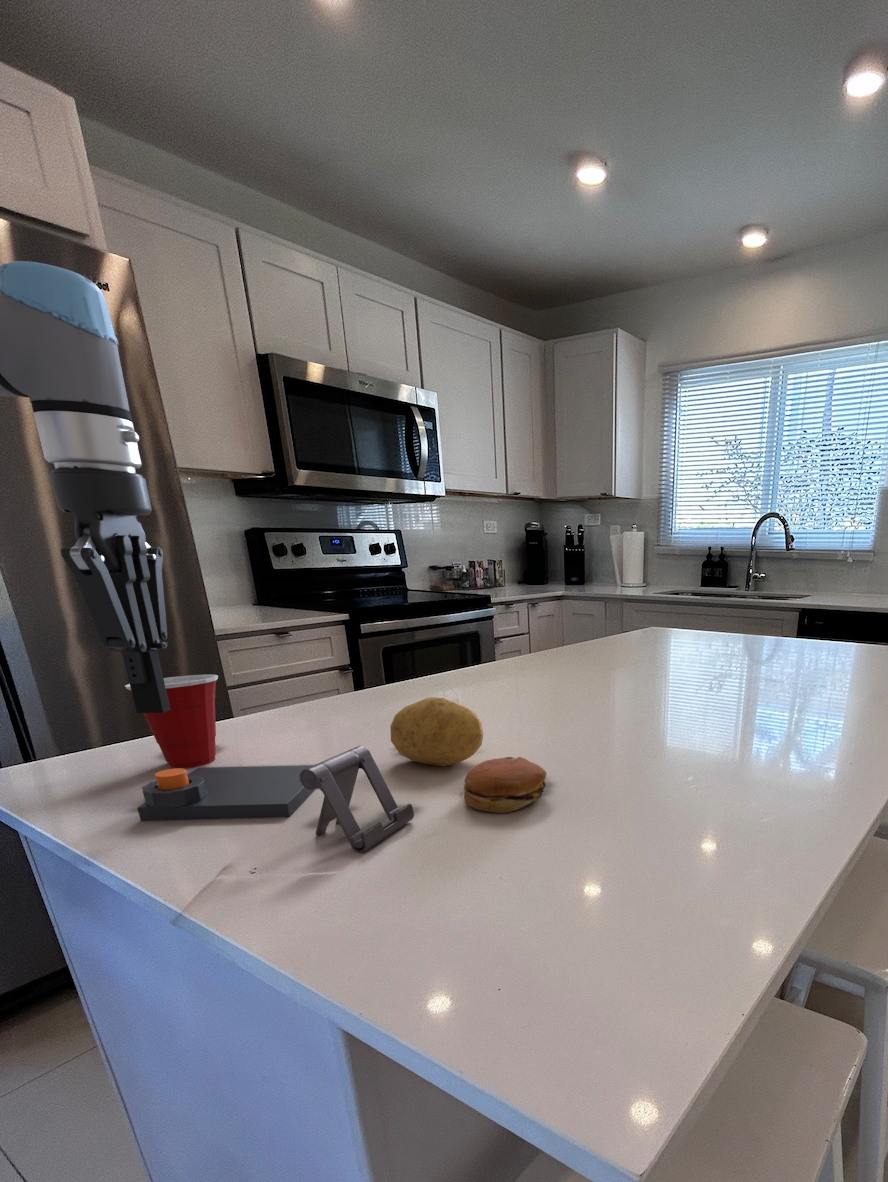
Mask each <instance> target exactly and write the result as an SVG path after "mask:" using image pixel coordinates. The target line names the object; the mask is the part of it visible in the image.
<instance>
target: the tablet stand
mask: <svg viewBox="0 0 888 1182" xmlns="http://www.w3.org/2000/svg"><path fill="white" fill-rule="evenodd" d="M313 765H314V766H311V767H309V768H307V769H304V770H303V771H302V772H301V773H300V781H301V783H302V785H303V786H304V787H305V788H307V789H309V790H314V789H315V790H320V791H321V792H322V794H323V796H324V797H323V801H322V804H321V809H320V814H319V818H318V823H317V826H316V830H315V833H314V834H315V835H316V837H319V836H321V835H323V834H324V833H326V831H327V828H328V825H329V824H330V822H332V821H334V820H335V825H336V826H340V828H341V830H342V832H343V833H344V835H345V838H346V839H347V841H348V843H349V845H350V847H351V848H352V850H353V851H355V852H356V853H360V854H363V853H364V852H366V851H368V850H371V849H372V847H374V846H375V845H377V844H378V843H380V842H381V841H383V840H384V839H386V838H387V837H388V836H390V835H391V834H393V833H394V832H396V831H398V830H399V829H400V828H402V827H404V826H406V825H407V824H408V823H410V822H411V821H412V820H413V819H414V817H415V812H414V808H413V804H412V803H407V804H406V805H404V806H403V807H401V808H400V807H398V805H397V802H396V800H395V799H394V797H393V795H392V793H391V791H390V789H389V787H388V784H387V783H386V781H385V778H384V777H383V774H382V773H381V771H380V769H379V767H378V765H377V763H376V761H375V759H374V757H373V755H372V753H371V751H370V749H369V748H368V747H366V746H365V745H358V746H356V747H353V748H351V749H348V750H346V751H343V752H341V753H339V754H337V755H334V756H332V757H330V758H327V759H325V760H323V761H321V762H318V763H316V764H313ZM360 769H361V770H363V772H364V773H365V776H366V777H367V779H368V781H369V783H370V786H371V787H372V789H373V791H374V793H375V795H376V797H377V799H378V801H379V803H380V806H381V807H382V808H383V811H384V813H385V814H386V817H387V818H388V821H386V822H385V823H383V822H378V823H376V824H375V825H373V826H371V827H370V828H367V829H366V830H365V831H363V830H361V828H360V826H359V825H358V822H357V820H356V818H355V817H354V815H353V812H352V811H351V809H350V805H351V800H352V798H353V797H352V796H353V794H354V790H355V785H356V781H357V777H358V774H359V770H360ZM315 790H314V791H315Z"/></svg>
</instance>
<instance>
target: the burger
mask: <svg viewBox="0 0 888 1182" xmlns="http://www.w3.org/2000/svg"><path fill="white" fill-rule="evenodd" d="M547 775H548V773H547V771H546V770H545V769H544V768H543V767H541V766H540V765H539V764H537V763H535V762H531V761H529V760H528V759H526V758H524V757H521V756H517V757H515V756H505V757H499V758H493V759H488V760H484V761H482V762H480V763H477V764H476V765H474V766H472V767H471V768H469V771H468V772H466V775H465V777H464V783H463V792H464V797H463V798H464V802H465V804H467V805H468V806H469V807H471V808H473V809H476V810H479V811H483V812H490V813H491V812H492V813H495V814H506V813H512V812H515V811H518V810H521V809H523V808H524V807H526V806H528V805H530V804H531V803H534V802H535V801H537V800H539V799H540V798H541V797H542V795H543V792H545V791H544V789H545V788H546V786H547V784H546V781H545V780H546V777H547Z"/></svg>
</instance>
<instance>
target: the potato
mask: <svg viewBox="0 0 888 1182" xmlns="http://www.w3.org/2000/svg"><path fill="white" fill-rule="evenodd" d="M482 724H483V723H482V721H481V720H480V718H479V716H478V715H477V713H476V712H474V711H473V710H472V709H470V708H469V707H468V706H465V705H463V704H460V703H458V702H455V701H452V700H449V699H447V698H444V697H433V696H431V697H427V698H424V699H421V700H419V701H415V702H413V703H411V704H408V705H406V706H404V707H403V708H401V709H400V710H399V711H398V712H397V713H395V715H394V718H392V721H391V723H390V742H391V743H392V745H393V746H394V748H395V749H396V750H397V752H398V754H399V755H401V756H403V757H404V758H406V759H408V760H410V761H414V762H417V763H420V764H425V765H429V766H435V767H451V766H454V765H457V764H459V763H461V762H462V763H463V762H464V761H466V760H468V759H470V758H471V757H473V756H474V755H475V754H476V753H477V751H478V750H479V749H480V748H481V746H482V745H483V739H484V731H483V725H482Z"/></svg>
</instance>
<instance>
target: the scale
mask: <svg viewBox="0 0 888 1182" xmlns="http://www.w3.org/2000/svg"><path fill="white" fill-rule="evenodd" d="M314 765H315V764H312V765H310V764H308V765H269V766H268V765H267V766H265V765H264V766H224V767H223V766H219V767H218V766H217V767H216V766H215V767H211V766H210V767H198V768H196V769H195V770H193V771H191V772H189V773H187V776H188V780H189V785H187V786H184V787H180V788H175V789H166V790H160V789H158V785H157V781H156V780H153V781H150V782H148V783H147V784H146V785H143V786H142V787H141V788H142V789H141V790H142V794H143V798H144V803H142V804H140V805H139V806H137V808H136V809H137V812H138V816H139V821H140V822H164V821H166V822H167V821H197V820H200V821H201V820H203V821H204V820H235V819H238V820H239V819H274V818H290V817H292V816H293V814H294V813H295V812H296V811H297V810H298V809H299V808H300V807H301V805H303V804H304V803H305V801H306V800H307V799H308V798H309V797H310V795H312V794H313V793H314V791H316V789H314V790H309V789H307V788H305V787H304V786H303V785H302V783H301V781H300V773H301V772H302V771H303V770H304V769H307V768H309V767H311V766H314Z"/></svg>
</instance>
